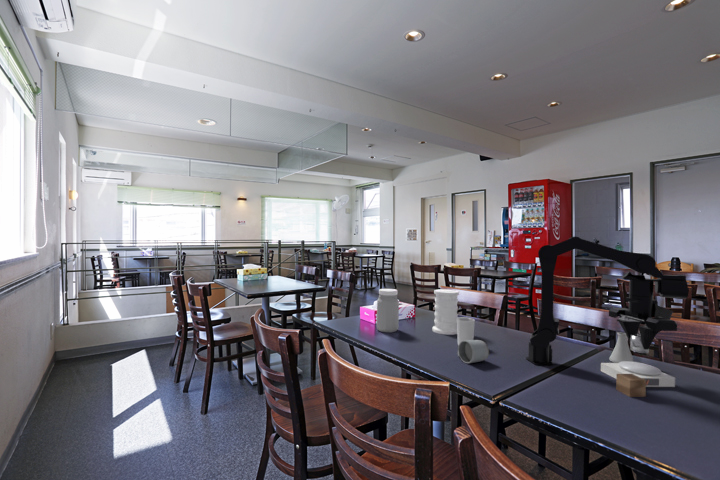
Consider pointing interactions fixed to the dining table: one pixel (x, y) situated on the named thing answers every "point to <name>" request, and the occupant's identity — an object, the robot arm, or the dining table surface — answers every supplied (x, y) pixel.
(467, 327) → the drinking glass
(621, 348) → the flask
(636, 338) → the steel weight with knob
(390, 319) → the jar
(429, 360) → the dining table surface
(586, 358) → the dining table surface
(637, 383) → the walnut block
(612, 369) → the kitchen scale
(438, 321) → the decorative container
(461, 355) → the ceramic mug
